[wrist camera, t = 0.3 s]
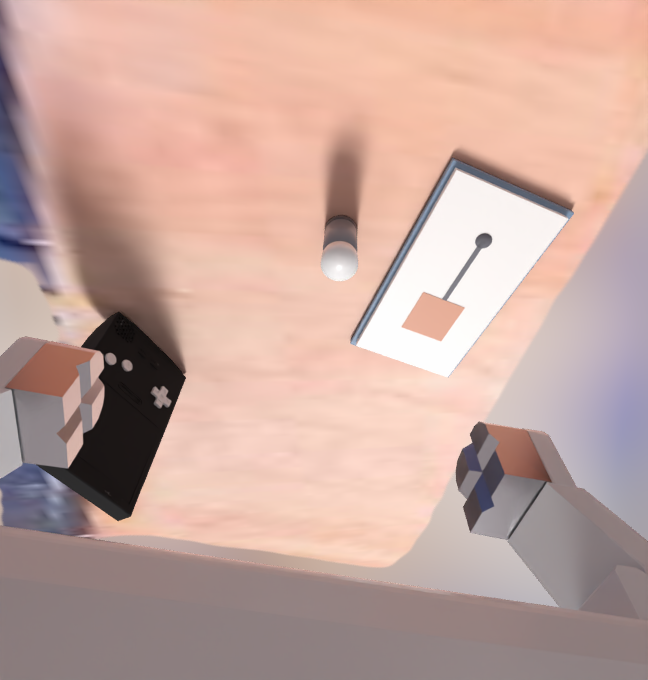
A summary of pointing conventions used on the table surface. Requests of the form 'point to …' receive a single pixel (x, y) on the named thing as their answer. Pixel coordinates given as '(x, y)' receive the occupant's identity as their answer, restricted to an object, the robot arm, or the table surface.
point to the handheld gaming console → (123, 418)
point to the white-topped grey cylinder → (340, 248)
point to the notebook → (458, 268)
